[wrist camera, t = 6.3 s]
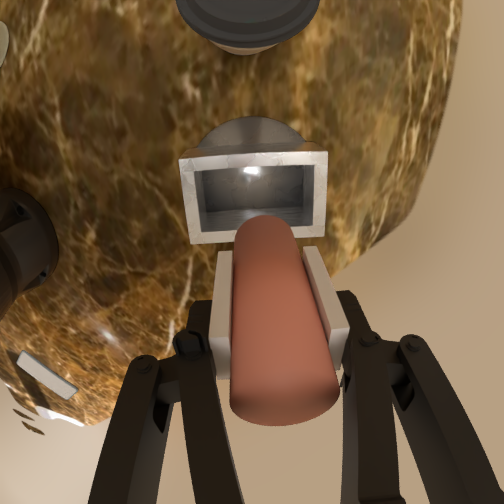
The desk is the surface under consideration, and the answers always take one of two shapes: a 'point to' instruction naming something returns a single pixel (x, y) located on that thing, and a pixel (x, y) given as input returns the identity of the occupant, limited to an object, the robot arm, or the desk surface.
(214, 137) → the rosette bracket
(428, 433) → the robot arm
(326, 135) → the desk surface
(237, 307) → the pin
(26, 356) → the smartphone
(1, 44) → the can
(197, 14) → the coffee cup
